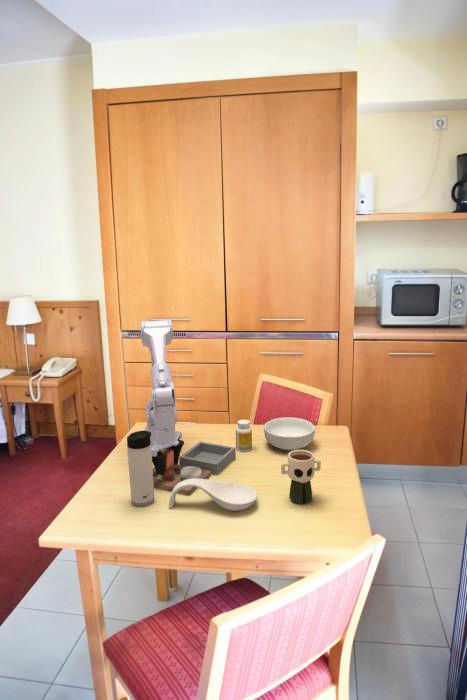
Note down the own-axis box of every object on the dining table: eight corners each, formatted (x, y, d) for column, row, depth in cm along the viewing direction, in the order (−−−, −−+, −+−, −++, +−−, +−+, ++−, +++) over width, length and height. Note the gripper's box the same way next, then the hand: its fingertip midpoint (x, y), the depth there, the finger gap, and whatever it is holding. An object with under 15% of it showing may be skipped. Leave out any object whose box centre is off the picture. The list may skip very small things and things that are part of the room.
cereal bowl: (253, 445, 181) (253, 426, 180) (286, 432, 192) (286, 413, 190) (291, 461, 169) (291, 440, 167) (324, 445, 180) (325, 426, 178)
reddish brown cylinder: (158, 480, 159) (157, 451, 157) (166, 474, 162) (164, 446, 160) (170, 482, 157) (168, 454, 155) (177, 476, 161) (175, 448, 159)
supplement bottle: (232, 448, 179) (232, 421, 177) (244, 444, 183) (244, 417, 180) (243, 453, 175) (242, 425, 173) (255, 448, 179) (255, 421, 176)
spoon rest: (257, 494, 150) (257, 471, 148) (257, 517, 138) (257, 492, 137) (172, 495, 151) (171, 471, 149) (166, 517, 139) (164, 492, 138)
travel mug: (151, 508, 143) (146, 438, 139) (127, 506, 145) (122, 436, 140) (158, 496, 149) (154, 429, 145) (136, 494, 151) (131, 427, 146)
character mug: (284, 508, 142) (284, 462, 139) (278, 494, 149) (277, 451, 146) (324, 503, 144) (325, 458, 141) (315, 490, 150) (316, 447, 147)
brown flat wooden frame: (138, 484, 157) (137, 471, 156) (163, 465, 168) (162, 453, 167) (189, 495, 149) (188, 482, 148) (211, 475, 161) (210, 463, 160)
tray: (179, 467, 167) (179, 457, 166) (200, 451, 178) (199, 441, 177) (217, 475, 161) (216, 464, 160) (235, 457, 172) (235, 447, 171)
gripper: (163, 437, 148) (165, 482, 151) (189, 419, 160) (191, 461, 164) (141, 433, 151) (144, 477, 154) (169, 416, 163) (171, 457, 167)
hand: (167, 469), depth 159 cm, fingers open, 7 cm apart
